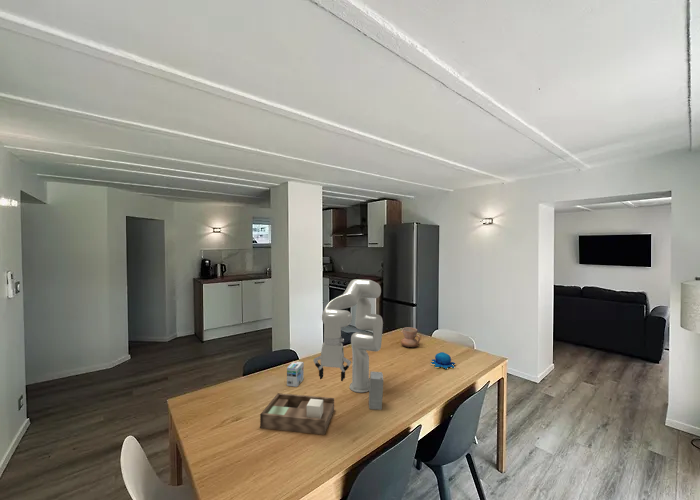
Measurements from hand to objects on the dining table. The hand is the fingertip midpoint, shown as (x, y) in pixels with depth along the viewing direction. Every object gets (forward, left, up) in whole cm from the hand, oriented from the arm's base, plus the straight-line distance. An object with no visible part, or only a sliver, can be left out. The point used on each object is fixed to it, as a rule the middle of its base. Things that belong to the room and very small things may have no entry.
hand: (331, 379), depth 131 cm
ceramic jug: (-41, -118, -21) cm, 127 cm away
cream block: (+7, +1, -17) cm, 18 cm away
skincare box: (-19, -20, -21) cm, 35 cm away
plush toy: (-61, -82, -21) cm, 104 cm away
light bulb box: (+30, -38, -21) cm, 53 cm away
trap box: (+15, -3, -21) cm, 26 cm away
